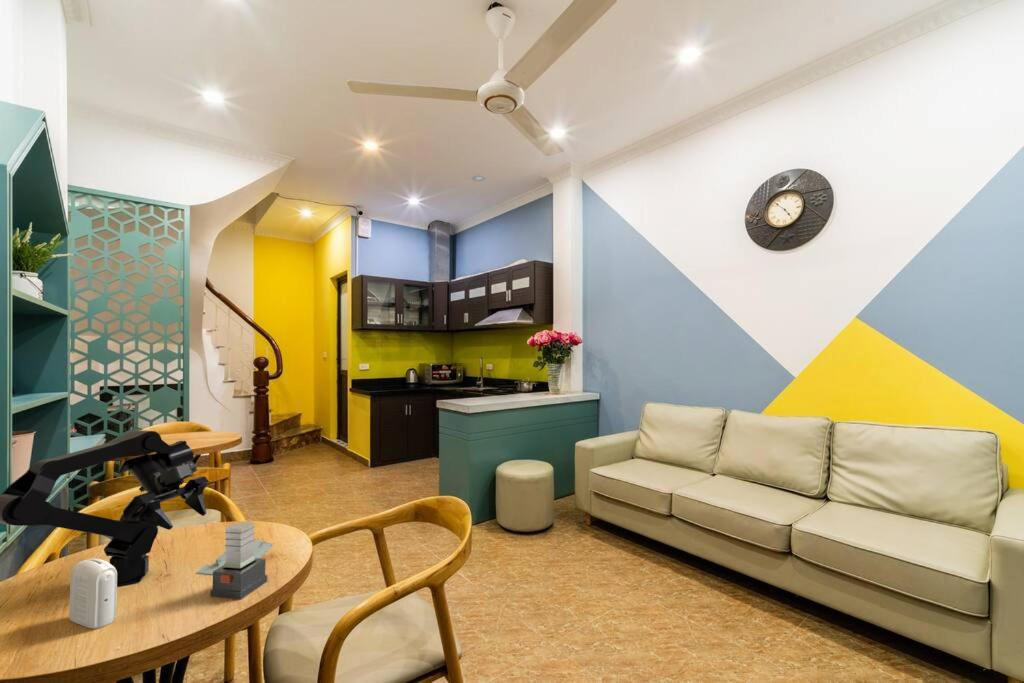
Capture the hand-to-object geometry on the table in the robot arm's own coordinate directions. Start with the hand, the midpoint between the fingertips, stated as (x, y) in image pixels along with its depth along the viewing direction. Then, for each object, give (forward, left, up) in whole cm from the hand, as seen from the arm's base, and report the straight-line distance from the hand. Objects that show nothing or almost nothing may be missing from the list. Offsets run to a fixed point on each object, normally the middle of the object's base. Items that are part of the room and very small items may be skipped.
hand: (188, 521), depth 109 cm
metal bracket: (+11, +1, -14) cm, 18 cm away
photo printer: (-13, -14, -14) cm, 24 cm away
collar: (+13, -13, -14) cm, 23 cm away
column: (+13, -13, -8) cm, 20 cm away
